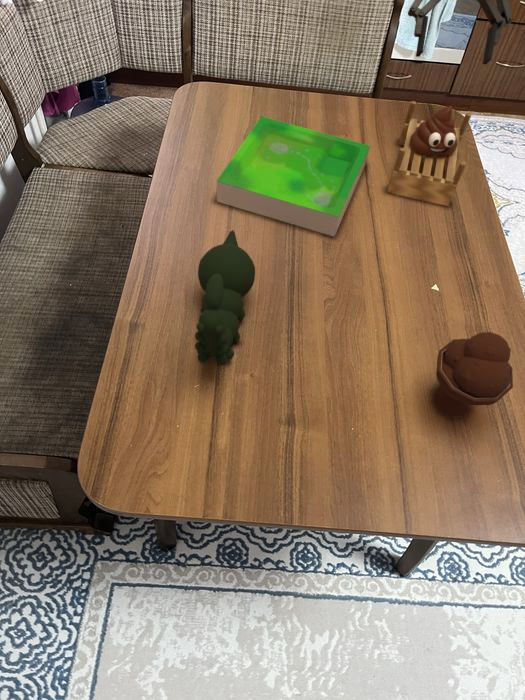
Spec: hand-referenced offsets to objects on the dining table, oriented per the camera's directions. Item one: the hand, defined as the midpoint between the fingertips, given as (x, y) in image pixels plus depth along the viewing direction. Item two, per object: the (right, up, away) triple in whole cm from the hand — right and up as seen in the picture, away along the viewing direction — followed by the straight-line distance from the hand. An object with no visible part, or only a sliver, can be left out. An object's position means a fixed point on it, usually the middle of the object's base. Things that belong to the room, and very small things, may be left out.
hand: (452, 58), depth 107 cm
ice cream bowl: (-8, -67, -23) cm, 71 cm away
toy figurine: (-45, -54, -16) cm, 72 cm away
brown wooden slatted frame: (-3, -19, +11) cm, 22 cm away
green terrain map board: (-32, -23, +7) cm, 40 cm away
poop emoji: (-2, -16, +7) cm, 17 cm away
